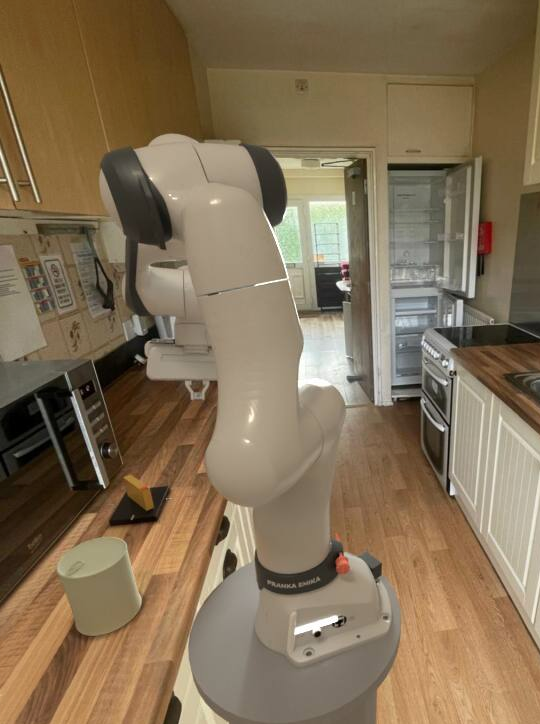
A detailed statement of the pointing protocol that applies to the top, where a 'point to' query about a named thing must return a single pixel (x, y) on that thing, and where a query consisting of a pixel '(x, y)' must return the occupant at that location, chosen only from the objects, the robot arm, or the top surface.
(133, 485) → the lock turn
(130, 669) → the top surface
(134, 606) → the can
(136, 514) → the lock plate
